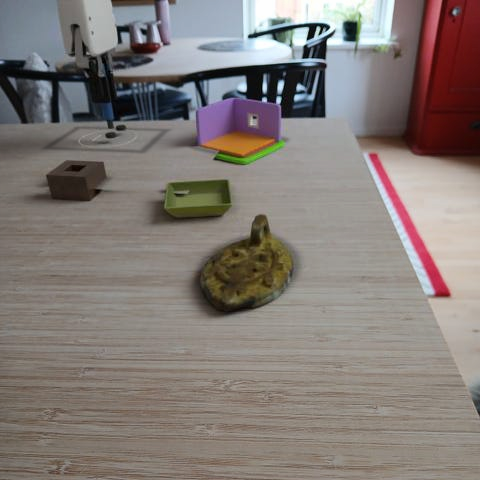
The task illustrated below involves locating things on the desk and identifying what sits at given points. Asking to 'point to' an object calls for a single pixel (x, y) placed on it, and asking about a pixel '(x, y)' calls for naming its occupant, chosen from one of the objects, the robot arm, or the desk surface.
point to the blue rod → (108, 110)
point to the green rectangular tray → (198, 198)
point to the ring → (100, 135)
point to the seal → (248, 270)
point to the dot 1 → (110, 135)
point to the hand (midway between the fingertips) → (105, 100)
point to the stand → (76, 180)
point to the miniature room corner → (240, 129)
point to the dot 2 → (120, 127)
